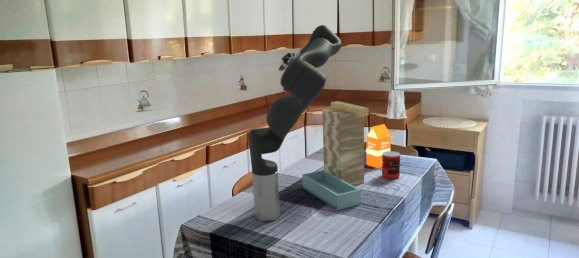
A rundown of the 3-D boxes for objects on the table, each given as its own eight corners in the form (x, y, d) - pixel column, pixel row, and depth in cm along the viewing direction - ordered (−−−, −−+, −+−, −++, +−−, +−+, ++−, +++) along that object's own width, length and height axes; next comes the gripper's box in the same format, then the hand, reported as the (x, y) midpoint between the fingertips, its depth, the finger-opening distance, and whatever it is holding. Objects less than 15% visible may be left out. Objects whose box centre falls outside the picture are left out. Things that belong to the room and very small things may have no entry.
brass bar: (368, 115, 166) (368, 108, 165) (360, 116, 164) (360, 109, 164) (338, 107, 185) (338, 101, 185) (330, 108, 184) (330, 102, 183)
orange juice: (390, 164, 205) (390, 125, 200) (377, 168, 200) (378, 128, 196) (378, 160, 211) (378, 122, 207) (366, 164, 207) (366, 125, 202)
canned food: (387, 172, 194) (388, 150, 191) (403, 176, 188) (403, 153, 186) (378, 177, 189) (378, 153, 186) (394, 180, 183) (394, 157, 180)
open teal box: (360, 204, 160) (360, 189, 159) (337, 210, 155) (337, 195, 154) (323, 182, 184) (323, 170, 183) (302, 187, 180) (302, 174, 178)
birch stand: (364, 182, 182) (364, 111, 175) (341, 188, 177) (340, 114, 170) (346, 173, 195) (345, 106, 187) (324, 178, 190) (322, 109, 182)
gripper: (289, 44, 150) (271, 63, 164) (297, 80, 147) (278, 96, 161) (307, 44, 154) (287, 63, 168) (315, 80, 151) (294, 96, 164)
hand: (283, 79), depth 164 cm, fingers open, 8 cm apart
